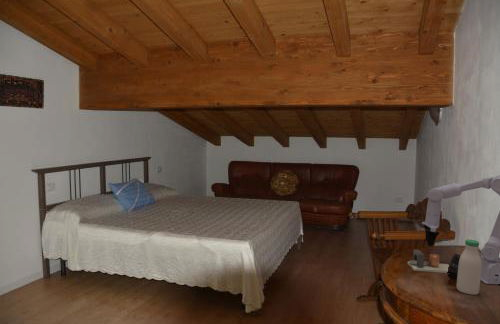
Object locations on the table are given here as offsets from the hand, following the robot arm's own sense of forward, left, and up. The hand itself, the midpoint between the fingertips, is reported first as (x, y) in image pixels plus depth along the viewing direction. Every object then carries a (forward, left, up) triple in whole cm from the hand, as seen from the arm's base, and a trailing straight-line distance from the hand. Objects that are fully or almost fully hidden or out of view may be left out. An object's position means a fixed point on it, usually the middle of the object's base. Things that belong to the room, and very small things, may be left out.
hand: (429, 243), depth 175 cm
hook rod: (-4, +3, -9) cm, 10 cm away
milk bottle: (-27, -5, -11) cm, 30 cm away
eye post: (-4, +6, -10) cm, 13 cm away
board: (-4, 0, -10) cm, 11 cm away
